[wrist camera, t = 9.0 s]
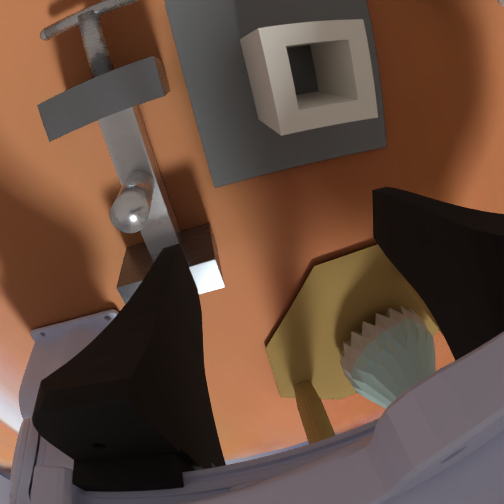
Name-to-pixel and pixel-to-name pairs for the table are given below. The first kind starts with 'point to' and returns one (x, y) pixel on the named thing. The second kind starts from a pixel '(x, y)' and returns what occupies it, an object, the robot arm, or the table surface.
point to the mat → (240, 93)
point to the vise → (128, 151)
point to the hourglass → (352, 338)
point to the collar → (326, 68)
